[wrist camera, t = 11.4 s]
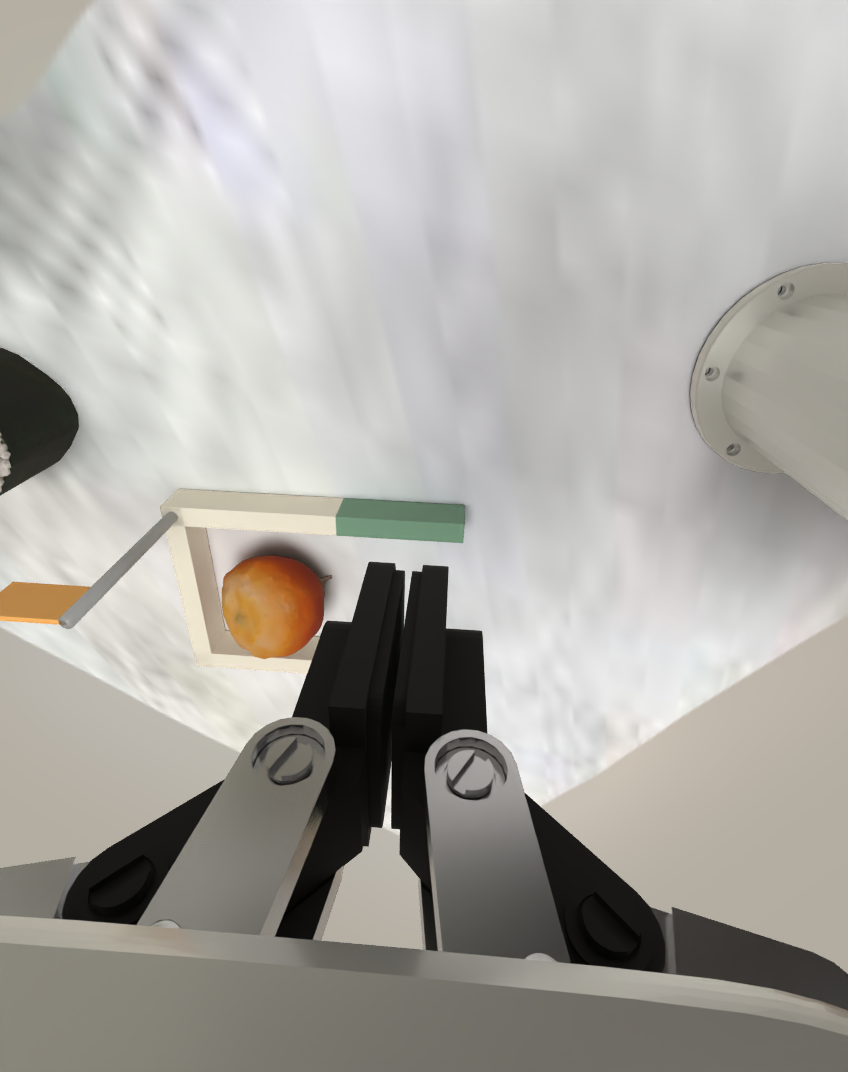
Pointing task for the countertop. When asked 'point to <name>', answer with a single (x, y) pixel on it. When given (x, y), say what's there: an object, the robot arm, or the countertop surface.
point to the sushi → (31, 421)
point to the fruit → (273, 605)
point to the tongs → (194, 565)
